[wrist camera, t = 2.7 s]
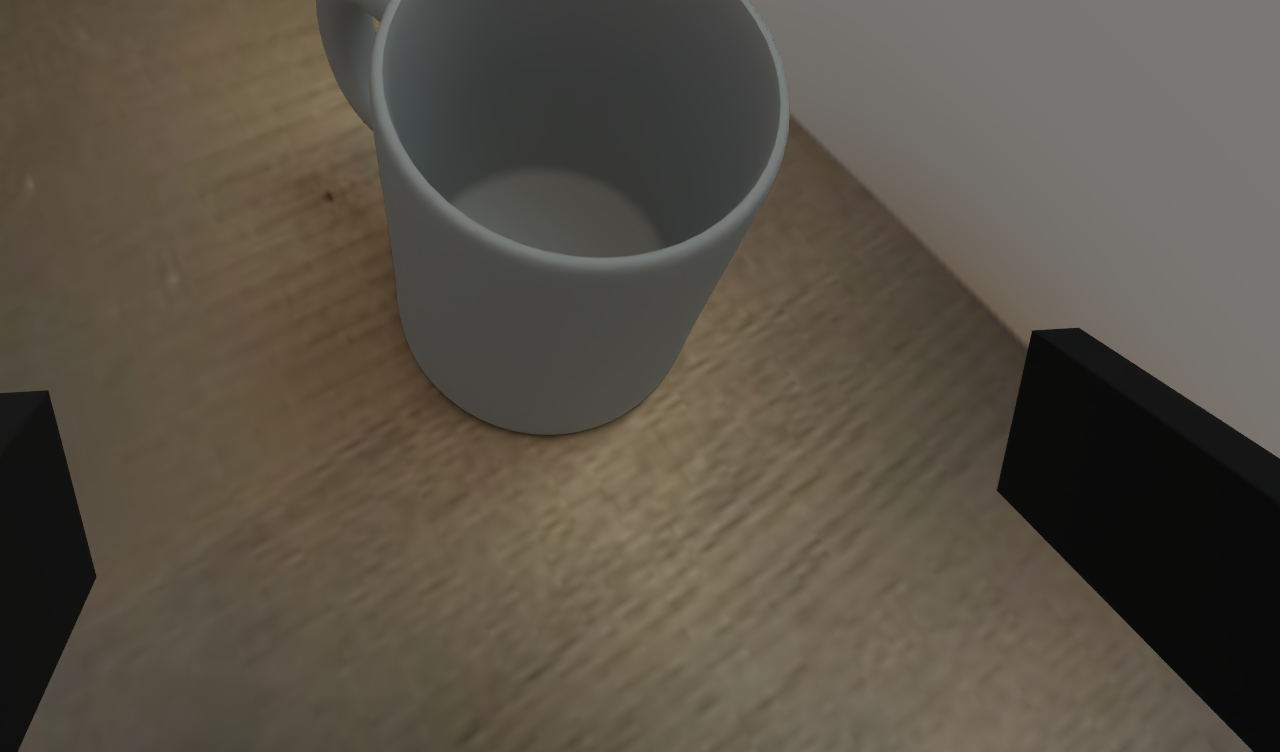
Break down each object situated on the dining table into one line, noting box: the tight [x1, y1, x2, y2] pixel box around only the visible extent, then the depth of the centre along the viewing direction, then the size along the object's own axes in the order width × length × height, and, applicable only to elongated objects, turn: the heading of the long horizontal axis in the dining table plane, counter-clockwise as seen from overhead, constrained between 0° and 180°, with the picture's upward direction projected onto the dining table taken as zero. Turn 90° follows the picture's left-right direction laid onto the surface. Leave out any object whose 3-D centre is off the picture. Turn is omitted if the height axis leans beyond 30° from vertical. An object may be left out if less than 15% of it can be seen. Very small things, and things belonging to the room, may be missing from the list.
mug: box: [316, 0, 790, 435], centre depth 25 cm, size 12×8×11 cm
